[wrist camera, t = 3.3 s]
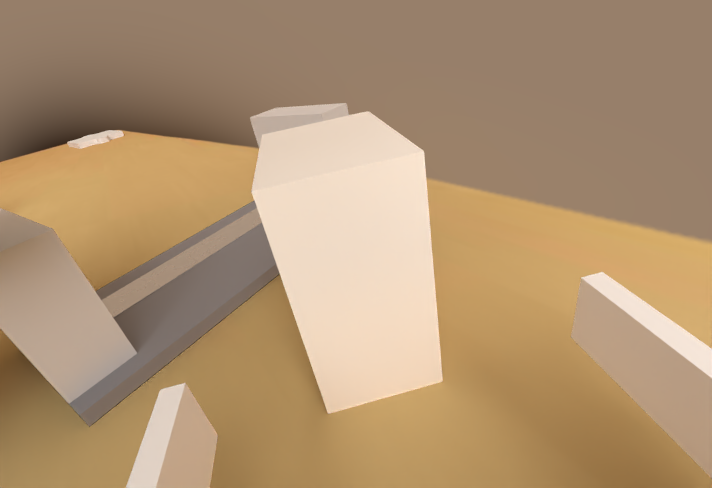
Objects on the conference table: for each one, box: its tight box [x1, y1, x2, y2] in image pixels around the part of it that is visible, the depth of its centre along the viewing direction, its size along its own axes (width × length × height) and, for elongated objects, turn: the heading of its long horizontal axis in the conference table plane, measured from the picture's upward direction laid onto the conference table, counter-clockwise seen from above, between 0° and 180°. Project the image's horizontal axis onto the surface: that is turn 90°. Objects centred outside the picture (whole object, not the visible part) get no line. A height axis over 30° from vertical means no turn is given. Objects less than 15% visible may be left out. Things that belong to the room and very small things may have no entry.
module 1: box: [0, 208, 137, 404], centre depth 22 cm, size 4×10×9 cm, turn 56°
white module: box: [251, 111, 443, 414], centre depth 19 cm, size 6×9×12 cm, turn 11°
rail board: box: [12, 200, 280, 426], centre depth 33 cm, size 30×13×1 cm, turn 146°
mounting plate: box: [67, 130, 124, 149], centre depth 118 cm, size 18×13×2 cm
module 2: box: [250, 103, 349, 149], centre depth 39 cm, size 4×10×9 cm, turn 56°
